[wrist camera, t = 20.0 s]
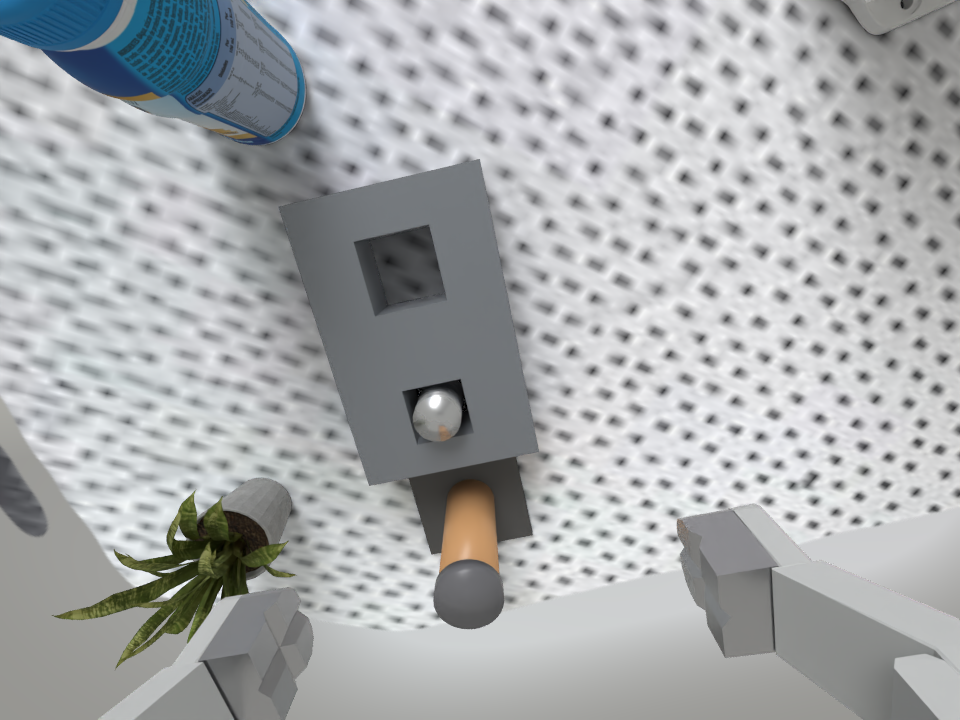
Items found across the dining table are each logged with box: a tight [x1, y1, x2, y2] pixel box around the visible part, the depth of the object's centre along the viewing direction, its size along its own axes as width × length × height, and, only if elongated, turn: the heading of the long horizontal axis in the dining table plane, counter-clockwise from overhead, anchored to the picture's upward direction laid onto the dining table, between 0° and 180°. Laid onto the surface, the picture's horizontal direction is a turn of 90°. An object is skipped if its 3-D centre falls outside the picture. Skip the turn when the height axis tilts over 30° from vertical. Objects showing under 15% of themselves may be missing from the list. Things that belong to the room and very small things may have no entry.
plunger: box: [413, 380, 463, 442], centre depth 37 cm, size 4×4×6 cm
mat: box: [409, 456, 533, 554], centre depth 43 cm, size 10×10×1 cm
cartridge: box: [433, 479, 504, 629], centre depth 37 cm, size 5×5×12 cm
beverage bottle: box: [0, 0, 306, 145], centre depth 24 cm, size 8×8×20 cm
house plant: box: [54, 478, 295, 668], centre depth 35 cm, size 14×14×16 cm
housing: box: [279, 159, 539, 486], centre depth 36 cm, size 22×14×5 cm, turn 12°
